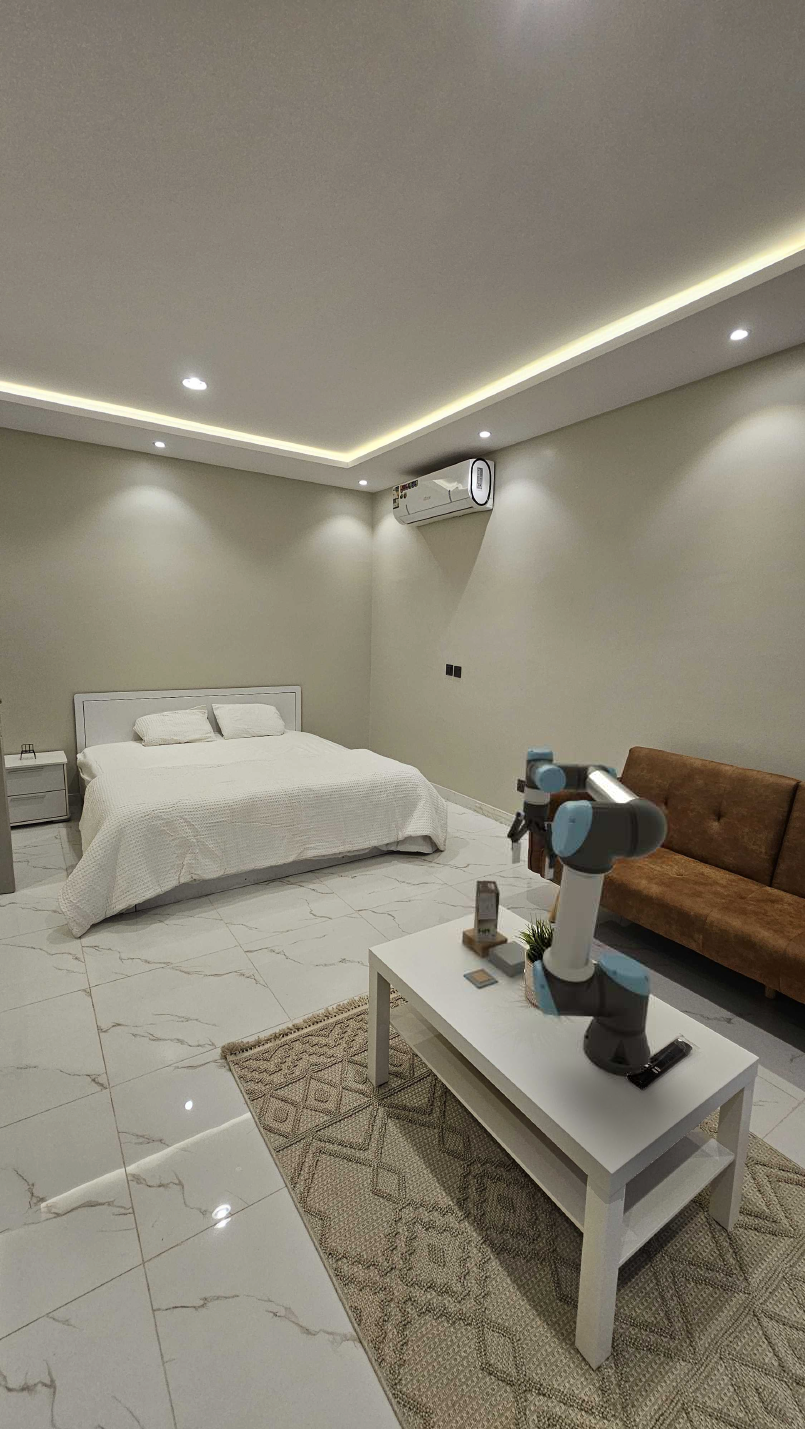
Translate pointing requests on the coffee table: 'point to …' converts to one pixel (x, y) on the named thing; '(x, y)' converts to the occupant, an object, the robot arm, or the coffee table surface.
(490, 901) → the coffee box
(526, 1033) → the coffee table surface
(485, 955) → the walnut block
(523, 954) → the grey square block
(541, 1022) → the coffee table surface
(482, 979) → the square coaster
